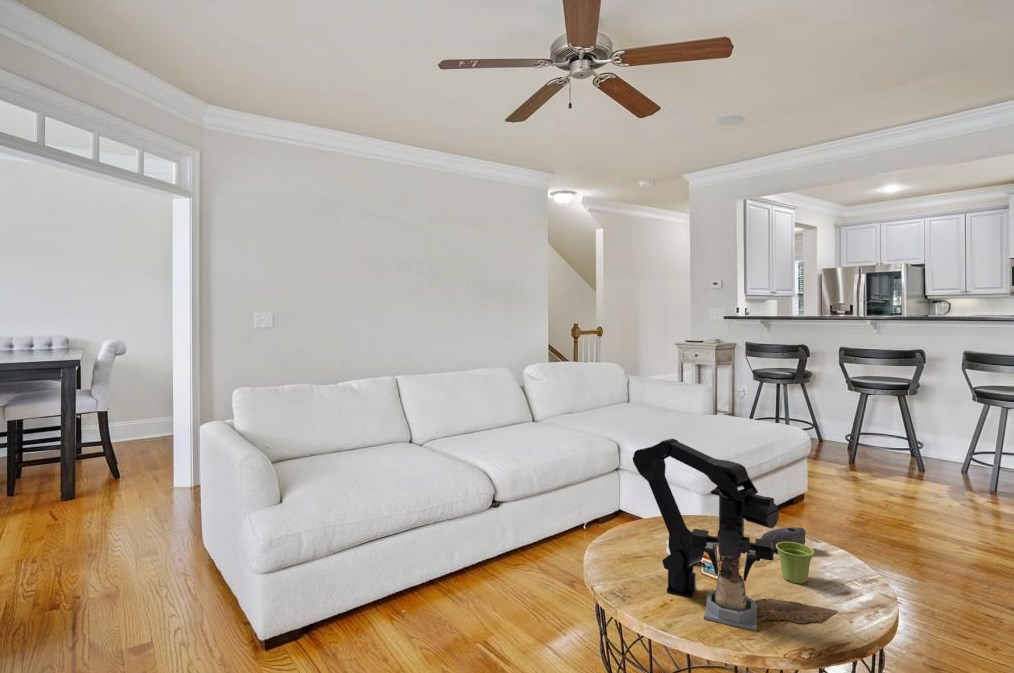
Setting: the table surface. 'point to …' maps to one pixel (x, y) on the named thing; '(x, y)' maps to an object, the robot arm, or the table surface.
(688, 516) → the table surface
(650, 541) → the table surface
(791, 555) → the plant pot
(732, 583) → the figurine
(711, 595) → the tray
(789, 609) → the wooden fragment
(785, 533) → the perforated stone tool
